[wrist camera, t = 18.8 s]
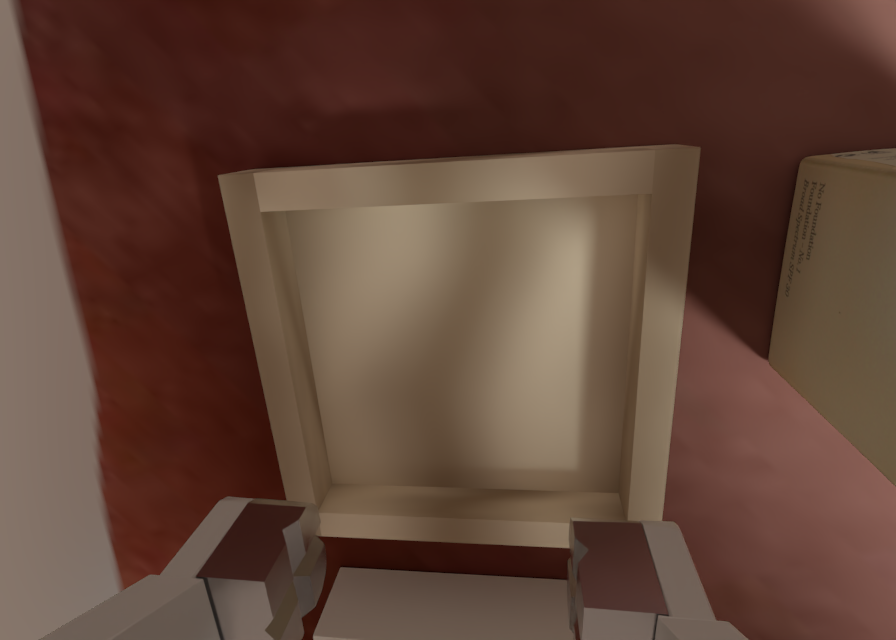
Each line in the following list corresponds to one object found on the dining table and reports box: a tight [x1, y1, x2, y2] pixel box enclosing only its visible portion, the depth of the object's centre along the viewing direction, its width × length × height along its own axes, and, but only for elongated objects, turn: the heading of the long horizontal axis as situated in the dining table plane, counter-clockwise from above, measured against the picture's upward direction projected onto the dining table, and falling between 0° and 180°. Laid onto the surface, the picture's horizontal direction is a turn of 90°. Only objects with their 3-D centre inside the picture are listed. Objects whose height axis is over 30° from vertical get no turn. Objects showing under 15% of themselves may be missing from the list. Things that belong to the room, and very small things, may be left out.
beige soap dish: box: [218, 144, 701, 548], centre depth 16 cm, size 12×12×2 cm
